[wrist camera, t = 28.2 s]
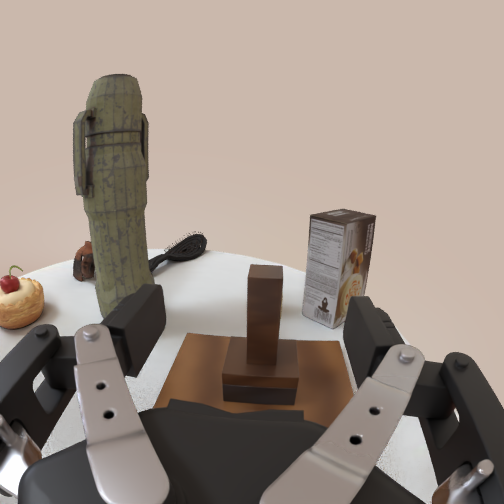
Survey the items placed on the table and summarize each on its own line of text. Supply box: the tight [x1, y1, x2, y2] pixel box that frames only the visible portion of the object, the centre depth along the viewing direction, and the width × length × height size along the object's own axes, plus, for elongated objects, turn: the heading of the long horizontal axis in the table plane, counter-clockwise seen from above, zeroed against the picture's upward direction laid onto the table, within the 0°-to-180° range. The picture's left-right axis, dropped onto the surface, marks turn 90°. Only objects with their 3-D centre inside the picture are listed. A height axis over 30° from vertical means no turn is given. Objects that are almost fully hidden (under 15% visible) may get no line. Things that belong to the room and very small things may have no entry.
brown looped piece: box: [73, 241, 95, 281], centre depth 56 cm, size 12×10×8 cm
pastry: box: [0, 266, 44, 329], centre depth 37 cm, size 12×12×9 cm
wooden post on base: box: [222, 264, 299, 405], centre depth 27 cm, size 7×6×13 cm
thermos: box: [73, 74, 155, 319], centre depth 36 cm, size 9×12×35 cm
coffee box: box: [302, 209, 376, 329], centre depth 43 cm, size 9×6×16 cm
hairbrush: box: [148, 234, 207, 272], centre depth 65 cm, size 8×4×25 cm
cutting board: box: [153, 333, 354, 428], centre depth 25 cm, size 20×26×2 cm
